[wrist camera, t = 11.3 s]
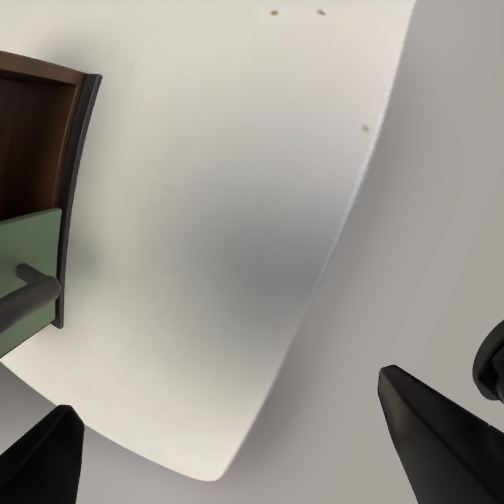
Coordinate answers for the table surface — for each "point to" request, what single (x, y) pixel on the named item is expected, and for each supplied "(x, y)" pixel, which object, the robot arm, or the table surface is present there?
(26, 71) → the cupboard
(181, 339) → the table surface
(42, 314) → the sliding door
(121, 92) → the table surface
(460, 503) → the robot arm
